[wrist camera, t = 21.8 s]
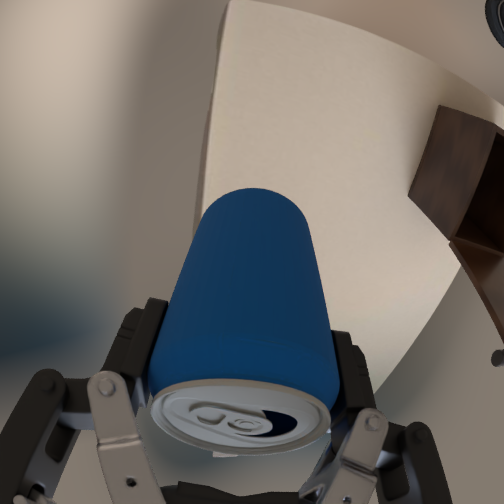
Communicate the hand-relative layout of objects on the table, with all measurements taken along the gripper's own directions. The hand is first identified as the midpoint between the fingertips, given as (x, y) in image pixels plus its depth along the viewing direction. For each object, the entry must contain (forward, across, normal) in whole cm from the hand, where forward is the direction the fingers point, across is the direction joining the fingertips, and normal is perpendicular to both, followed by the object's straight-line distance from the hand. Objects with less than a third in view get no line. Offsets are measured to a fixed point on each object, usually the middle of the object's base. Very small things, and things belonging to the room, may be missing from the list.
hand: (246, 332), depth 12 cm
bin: (+36, -32, -5) cm, 49 cm away
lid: (+12, -32, +3) cm, 35 cm away
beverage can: (+8, 0, 0) cm, 8 cm away
